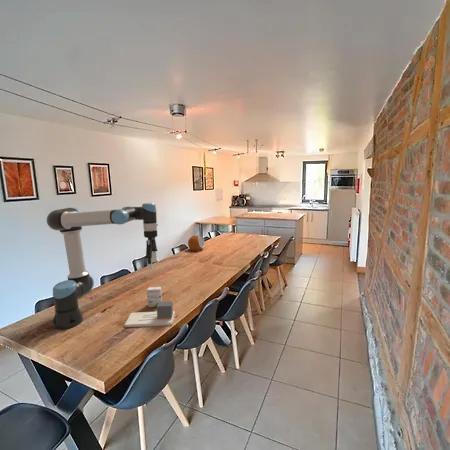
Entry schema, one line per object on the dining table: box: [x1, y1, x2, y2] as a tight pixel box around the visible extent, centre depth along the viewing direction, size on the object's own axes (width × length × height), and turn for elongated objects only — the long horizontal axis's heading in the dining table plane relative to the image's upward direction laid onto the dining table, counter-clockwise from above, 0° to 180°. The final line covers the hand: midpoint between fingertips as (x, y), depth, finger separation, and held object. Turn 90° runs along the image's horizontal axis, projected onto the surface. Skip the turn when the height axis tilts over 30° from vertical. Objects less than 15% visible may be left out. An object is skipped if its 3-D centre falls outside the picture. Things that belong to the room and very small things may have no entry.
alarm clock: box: [187, 234, 205, 252], centre depth 319 cm, size 19×18×17 cm
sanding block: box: [156, 301, 174, 320], centre depth 161 cm, size 8×6×8 cm
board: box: [124, 310, 176, 328], centre depth 161 cm, size 26×14×2 cm, turn 94°
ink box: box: [146, 286, 163, 308], centre depth 179 cm, size 9×5×12 cm, turn 96°
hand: (152, 265), depth 163 cm, fingers open, 13 cm apart
